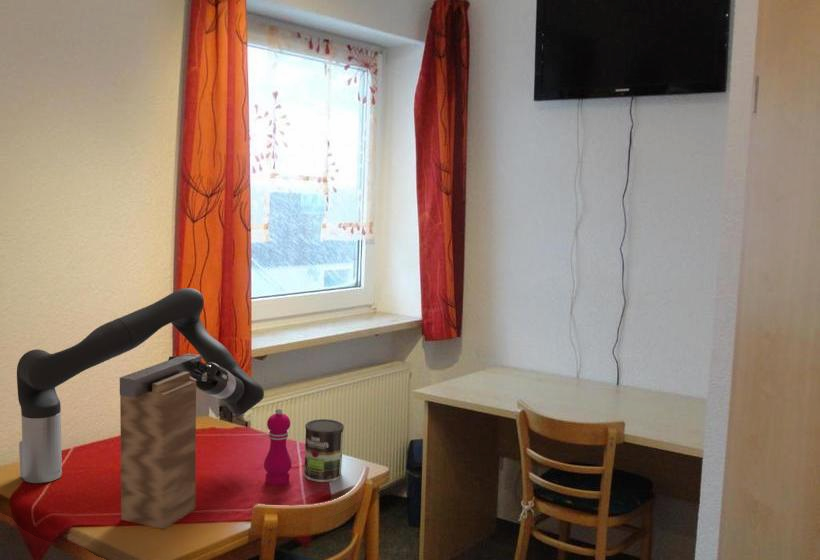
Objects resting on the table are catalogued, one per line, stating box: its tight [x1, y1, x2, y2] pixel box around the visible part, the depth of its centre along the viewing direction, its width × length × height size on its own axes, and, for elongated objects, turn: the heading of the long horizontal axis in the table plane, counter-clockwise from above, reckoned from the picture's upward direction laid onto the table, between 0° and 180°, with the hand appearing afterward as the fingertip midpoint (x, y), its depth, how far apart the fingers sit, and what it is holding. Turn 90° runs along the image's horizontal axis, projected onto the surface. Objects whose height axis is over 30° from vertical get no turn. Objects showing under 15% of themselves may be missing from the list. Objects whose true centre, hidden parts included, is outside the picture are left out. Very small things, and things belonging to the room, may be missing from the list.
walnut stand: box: [119, 371, 197, 531], centre depth 193 cm, size 12×12×34 cm
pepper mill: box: [263, 407, 293, 486], centre depth 217 cm, size 7×7×20 cm
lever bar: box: [119, 352, 203, 398], centre depth 192 cm, size 4×25×4 cm, turn 160°
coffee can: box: [303, 418, 345, 483], centre depth 223 cm, size 10×10×14 cm
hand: (182, 362), depth 199 cm, fingers open, 7 cm apart
